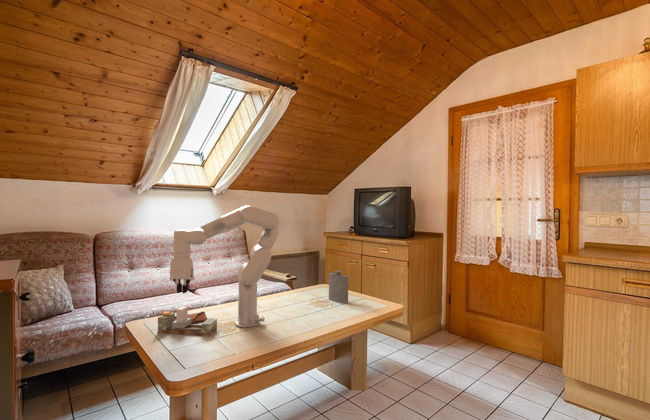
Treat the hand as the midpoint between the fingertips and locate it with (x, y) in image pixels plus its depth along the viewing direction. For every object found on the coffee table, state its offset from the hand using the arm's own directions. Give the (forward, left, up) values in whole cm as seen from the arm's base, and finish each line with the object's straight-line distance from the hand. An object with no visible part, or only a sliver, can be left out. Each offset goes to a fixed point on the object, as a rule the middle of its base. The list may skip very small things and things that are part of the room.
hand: (182, 292), depth 163 cm
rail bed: (-3, 0, -19) cm, 19 cm away
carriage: (0, 0, -16) cm, 16 cm away
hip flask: (-72, -62, -19) cm, 97 cm away
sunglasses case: (+2, -12, -20) cm, 23 cm away
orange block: (+8, 0, -15) cm, 17 cm away
